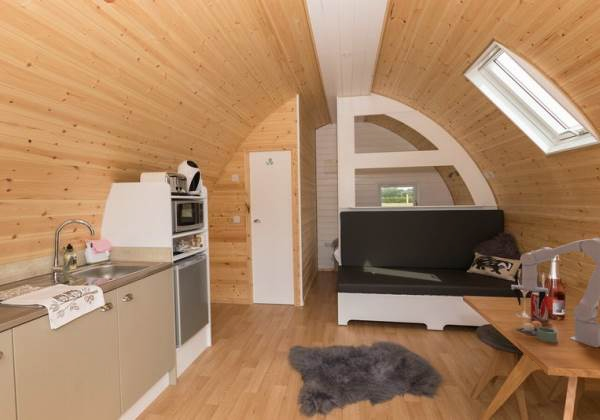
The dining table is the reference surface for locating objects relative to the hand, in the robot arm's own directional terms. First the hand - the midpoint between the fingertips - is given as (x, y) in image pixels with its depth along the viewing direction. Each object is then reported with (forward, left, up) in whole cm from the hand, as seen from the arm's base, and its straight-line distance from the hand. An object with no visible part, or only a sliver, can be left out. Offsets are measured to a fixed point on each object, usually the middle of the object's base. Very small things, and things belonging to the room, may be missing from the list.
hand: (529, 306), depth 157 cm
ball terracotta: (-5, +3, -9) cm, 11 cm away
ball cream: (-5, +9, -9) cm, 13 cm away
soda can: (+3, -13, -10) cm, 17 cm away
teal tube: (-13, +10, -10) cm, 18 cm away
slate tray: (-5, +6, -10) cm, 12 cm away
